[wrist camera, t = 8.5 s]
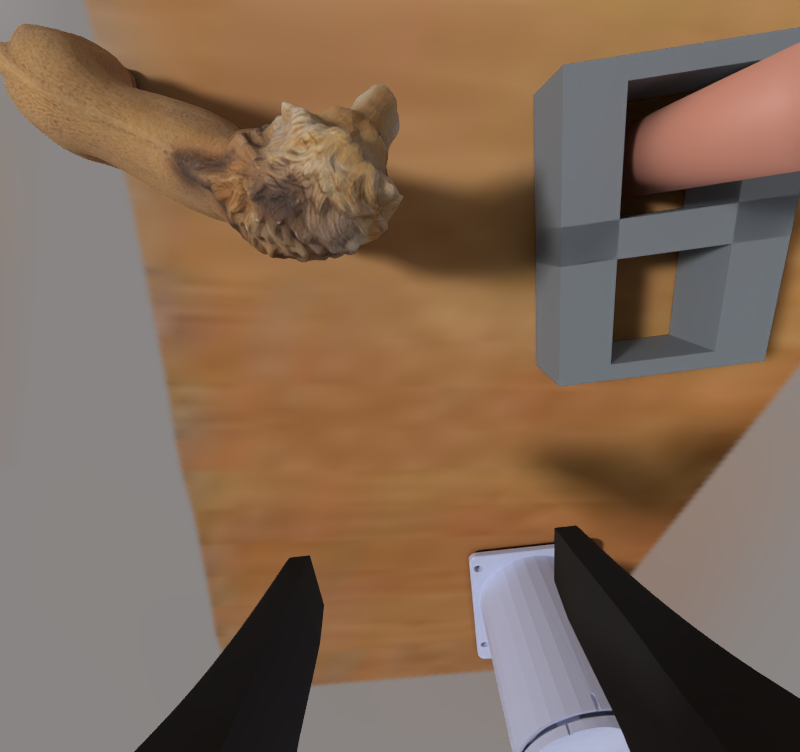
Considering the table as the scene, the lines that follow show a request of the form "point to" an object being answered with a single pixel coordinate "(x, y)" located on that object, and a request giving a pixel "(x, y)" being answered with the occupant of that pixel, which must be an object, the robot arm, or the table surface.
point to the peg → (720, 131)
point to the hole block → (650, 224)
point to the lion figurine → (216, 148)
